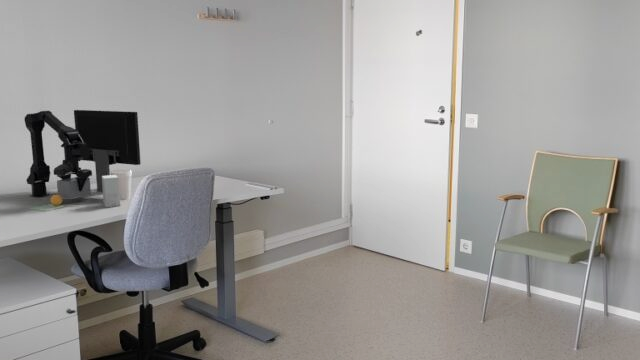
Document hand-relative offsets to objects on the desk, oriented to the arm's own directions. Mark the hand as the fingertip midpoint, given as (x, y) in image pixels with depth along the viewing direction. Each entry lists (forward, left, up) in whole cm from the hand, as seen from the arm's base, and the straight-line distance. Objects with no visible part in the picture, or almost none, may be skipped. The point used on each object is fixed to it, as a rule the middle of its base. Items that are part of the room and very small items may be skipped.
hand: (74, 190), depth 281 cm
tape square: (0, -15, -5) cm, 16 cm away
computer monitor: (-2, +23, -5) cm, 24 cm away
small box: (+22, +1, -5) cm, 23 cm away
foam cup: (+16, +14, -5) cm, 22 cm away
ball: (0, -10, -2) cm, 11 cm away
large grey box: (0, 0, -2) cm, 2 cm away
